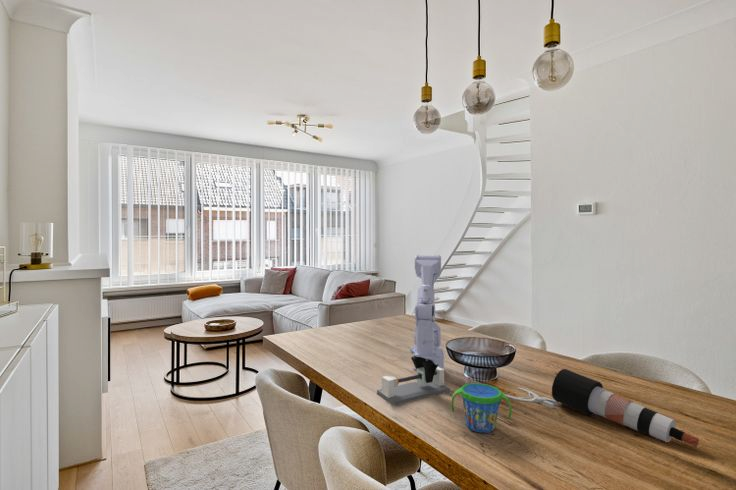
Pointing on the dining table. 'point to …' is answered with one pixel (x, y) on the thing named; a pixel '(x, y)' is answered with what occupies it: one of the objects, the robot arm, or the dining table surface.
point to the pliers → (535, 399)
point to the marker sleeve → (422, 371)
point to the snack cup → (481, 405)
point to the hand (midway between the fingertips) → (424, 380)
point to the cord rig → (411, 388)
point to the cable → (613, 407)
